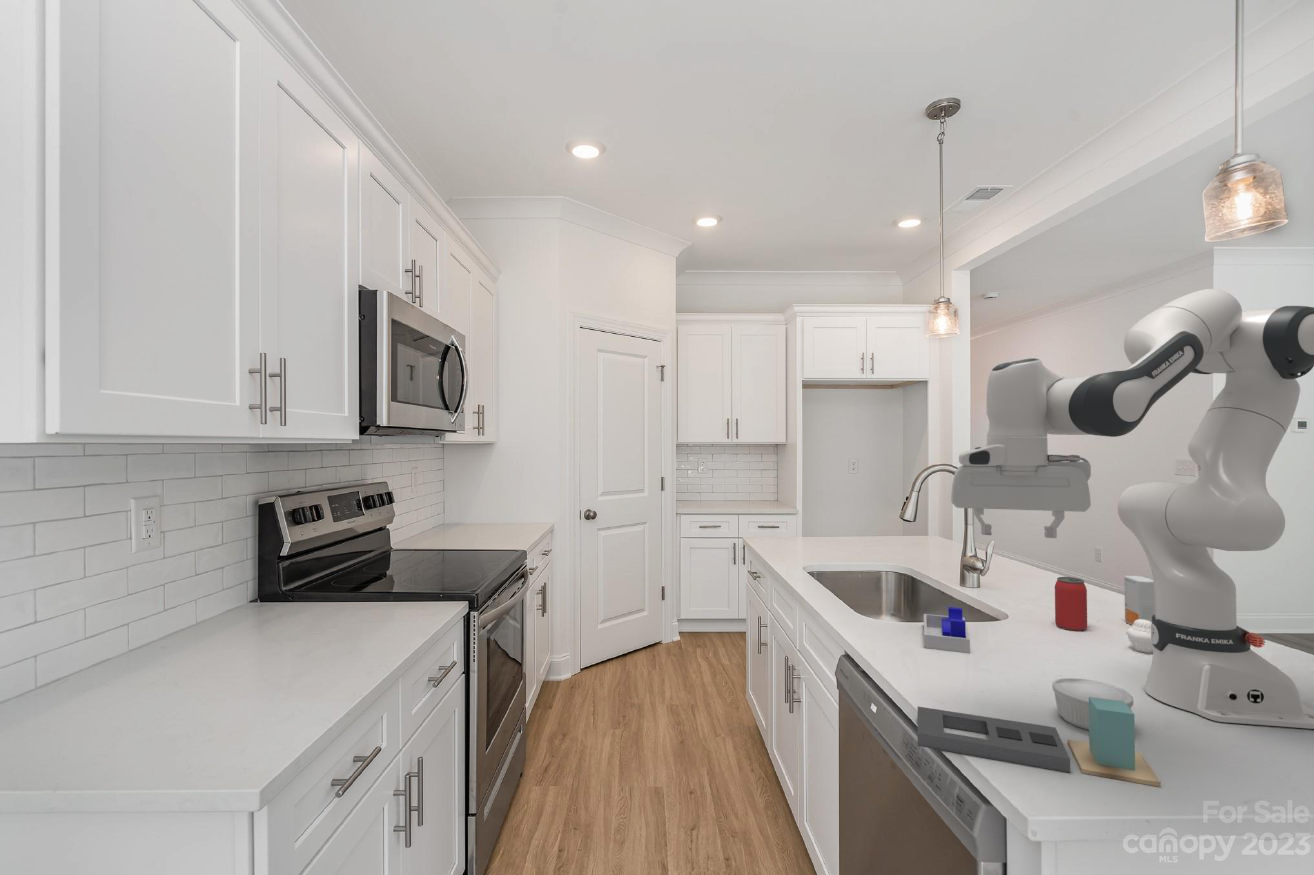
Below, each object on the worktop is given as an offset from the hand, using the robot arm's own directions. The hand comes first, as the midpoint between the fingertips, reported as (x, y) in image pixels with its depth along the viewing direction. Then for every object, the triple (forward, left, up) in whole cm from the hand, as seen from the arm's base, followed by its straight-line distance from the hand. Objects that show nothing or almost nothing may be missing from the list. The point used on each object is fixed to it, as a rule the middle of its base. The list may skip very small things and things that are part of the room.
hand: (1017, 536), depth 102 cm
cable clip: (+8, -41, -32) cm, 52 cm away
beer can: (-19, -60, -31) cm, 70 cm away
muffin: (-30, -47, -31) cm, 64 cm away
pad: (-10, +11, -31) cm, 34 cm away
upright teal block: (-10, +11, -30) cm, 34 cm away
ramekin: (-11, -4, -31) cm, 34 cm away
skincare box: (-35, -67, -31) cm, 82 cm away
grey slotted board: (+6, +11, -31) cm, 33 cm away
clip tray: (+10, -40, -31) cm, 52 cm away
